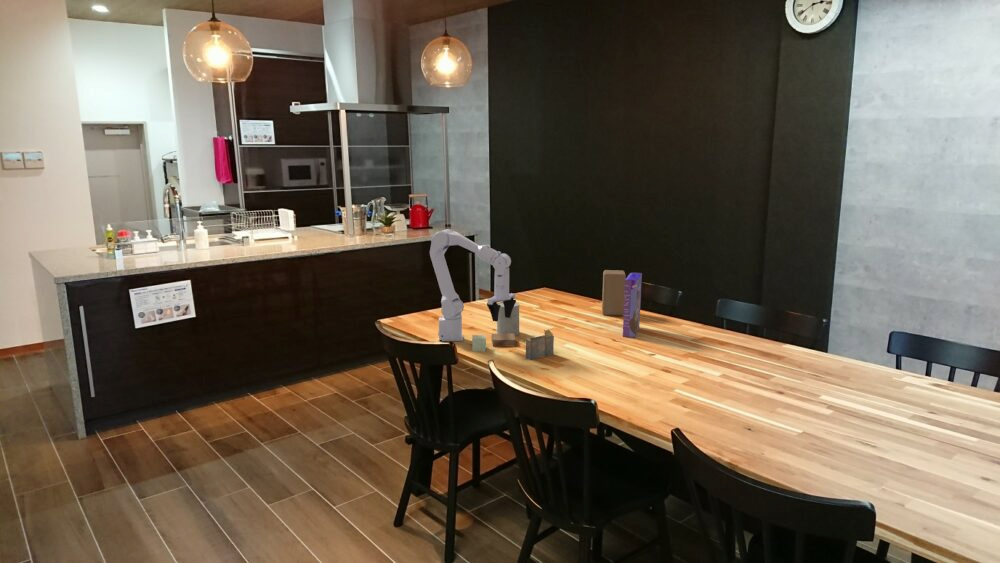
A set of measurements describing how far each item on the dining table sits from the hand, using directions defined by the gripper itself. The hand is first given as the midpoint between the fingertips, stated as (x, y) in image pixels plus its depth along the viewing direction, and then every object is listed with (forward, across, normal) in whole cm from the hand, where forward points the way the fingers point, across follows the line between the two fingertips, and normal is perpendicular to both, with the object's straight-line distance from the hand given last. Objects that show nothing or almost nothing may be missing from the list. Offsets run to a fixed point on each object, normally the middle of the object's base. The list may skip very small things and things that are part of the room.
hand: (501, 319), depth 246 cm
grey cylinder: (+10, +13, +7) cm, 18 cm away
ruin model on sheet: (+10, -4, -22) cm, 24 cm away
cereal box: (+10, +49, -31) cm, 58 cm away
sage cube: (+10, -12, +1) cm, 15 cm away
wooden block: (+10, +71, -8) cm, 73 cm away
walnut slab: (+10, +1, 0) cm, 10 cm away
